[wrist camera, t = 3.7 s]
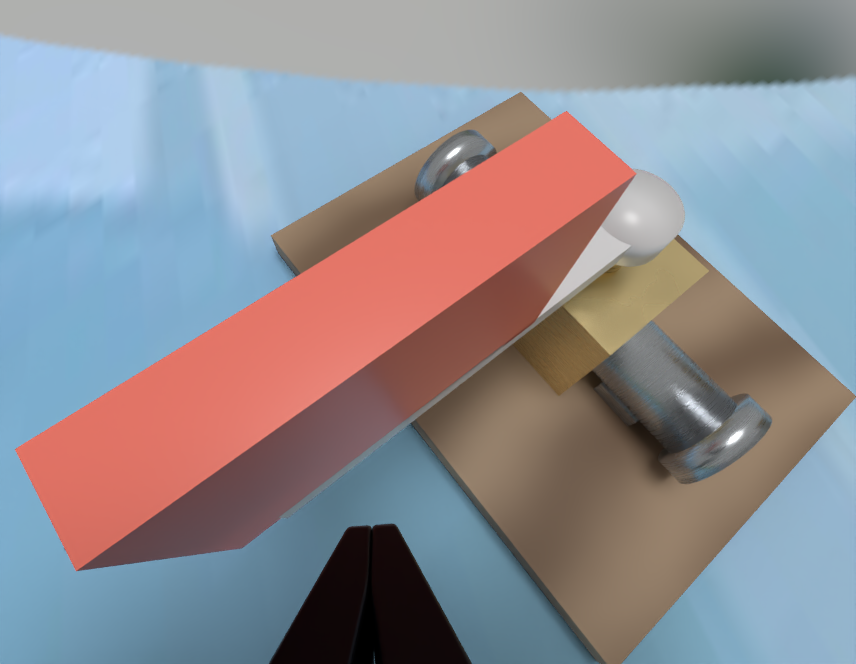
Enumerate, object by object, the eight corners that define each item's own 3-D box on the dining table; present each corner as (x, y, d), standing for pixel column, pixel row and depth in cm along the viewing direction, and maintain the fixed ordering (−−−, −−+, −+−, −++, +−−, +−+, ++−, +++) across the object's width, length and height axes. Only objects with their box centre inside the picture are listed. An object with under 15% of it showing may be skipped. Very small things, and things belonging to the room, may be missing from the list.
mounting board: (827, 404, 23) (856, 396, 21) (596, 661, 18) (613, 672, 17) (514, 113, 28) (520, 91, 27) (278, 252, 24) (271, 235, 22)
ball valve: (729, 417, 20) (867, 372, 14) (650, 498, 19) (767, 485, 13) (483, 171, 24) (512, 58, 19) (402, 221, 23) (406, 116, 17)
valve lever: (618, 180, 16) (761, -39, 10) (681, 236, 16) (877, 40, 9) (205, 471, 12) (-7, 408, 6) (265, 568, 11) (101, 621, 5)
